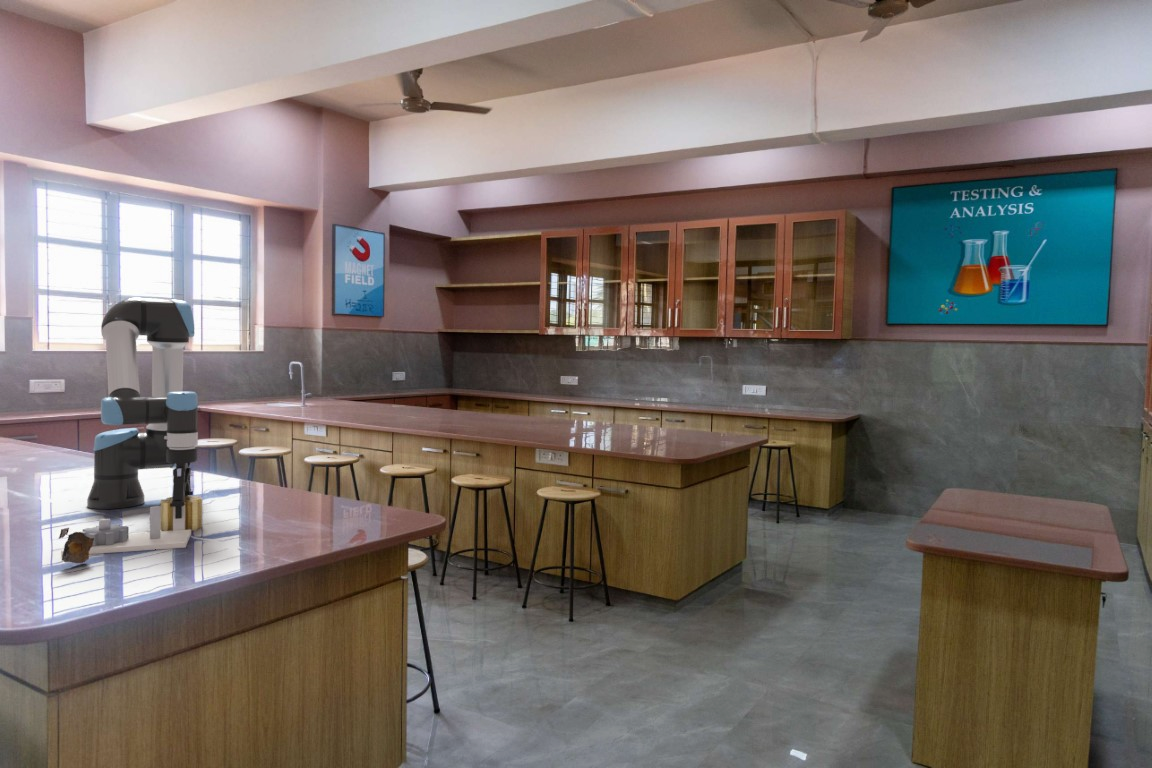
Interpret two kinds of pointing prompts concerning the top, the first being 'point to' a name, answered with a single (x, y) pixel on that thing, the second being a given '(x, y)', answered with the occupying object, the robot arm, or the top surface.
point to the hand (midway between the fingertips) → (181, 524)
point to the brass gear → (191, 513)
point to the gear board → (134, 536)
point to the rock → (76, 547)
